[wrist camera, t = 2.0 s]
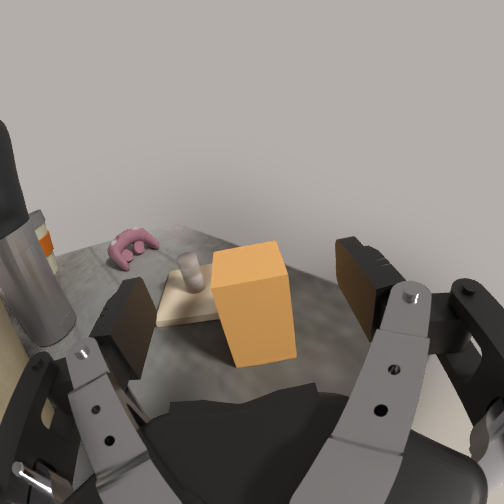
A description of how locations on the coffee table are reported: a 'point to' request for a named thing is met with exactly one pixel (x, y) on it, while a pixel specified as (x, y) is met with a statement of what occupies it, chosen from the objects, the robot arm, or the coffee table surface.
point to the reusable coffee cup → (44, 238)
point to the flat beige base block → (187, 294)
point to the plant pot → (14, 365)
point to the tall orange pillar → (254, 303)
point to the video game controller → (125, 239)
